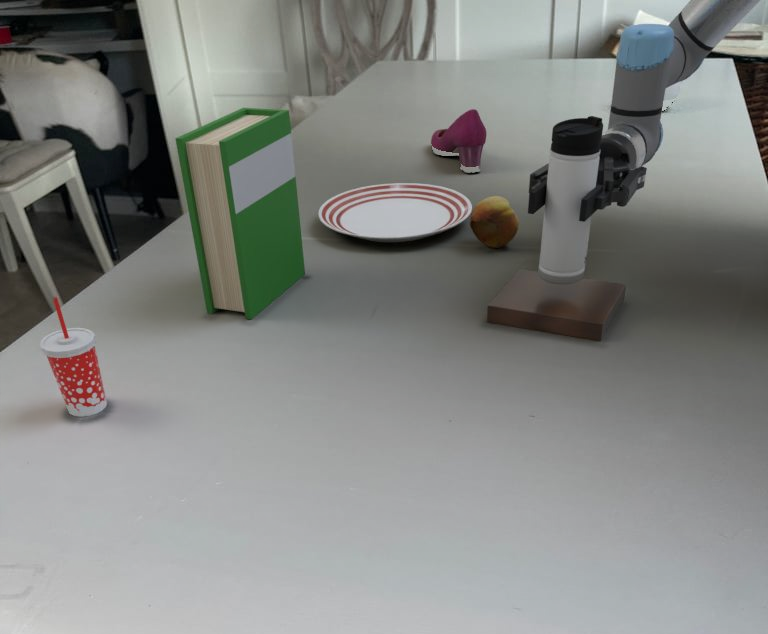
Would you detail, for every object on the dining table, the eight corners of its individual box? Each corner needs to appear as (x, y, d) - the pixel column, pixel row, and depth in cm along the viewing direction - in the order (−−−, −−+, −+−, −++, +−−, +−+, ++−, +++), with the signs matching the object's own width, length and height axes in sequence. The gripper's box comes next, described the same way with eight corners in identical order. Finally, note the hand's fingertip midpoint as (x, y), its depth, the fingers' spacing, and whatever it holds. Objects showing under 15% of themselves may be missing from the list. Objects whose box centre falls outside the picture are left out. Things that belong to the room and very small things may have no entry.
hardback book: (251, 319, 116) (225, 141, 101) (207, 313, 119) (175, 138, 104) (305, 273, 129) (288, 110, 114) (264, 268, 131) (243, 107, 116)
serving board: (623, 300, 117) (626, 284, 116) (600, 341, 107) (603, 323, 106) (518, 284, 123) (519, 268, 121) (486, 322, 113) (487, 305, 111)
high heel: (454, 143, 188) (455, 84, 181) (500, 171, 169) (504, 107, 161) (419, 147, 186) (419, 88, 179) (462, 177, 167) (464, 112, 159)
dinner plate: (446, 259, 132) (446, 239, 130) (294, 244, 140) (292, 224, 138) (488, 206, 152) (489, 188, 150) (353, 195, 160) (352, 178, 158)
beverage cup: (114, 414, 97) (83, 304, 88) (60, 423, 95) (24, 313, 87) (112, 390, 101) (83, 283, 93) (62, 399, 100) (27, 291, 91)
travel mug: (594, 276, 112) (617, 121, 100) (560, 288, 109) (578, 130, 97) (563, 263, 116) (580, 112, 104) (528, 274, 113) (542, 120, 101)
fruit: (512, 256, 132) (516, 206, 127) (463, 252, 134) (464, 202, 129) (521, 240, 137) (525, 192, 133) (474, 236, 140) (476, 188, 135)
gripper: (673, 194, 117) (626, 247, 101) (547, 178, 124) (486, 225, 109) (683, 139, 112) (636, 185, 96) (552, 126, 120) (489, 167, 104)
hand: (557, 206), depth 103 cm, fingers closed on travel mug, 6 cm apart
